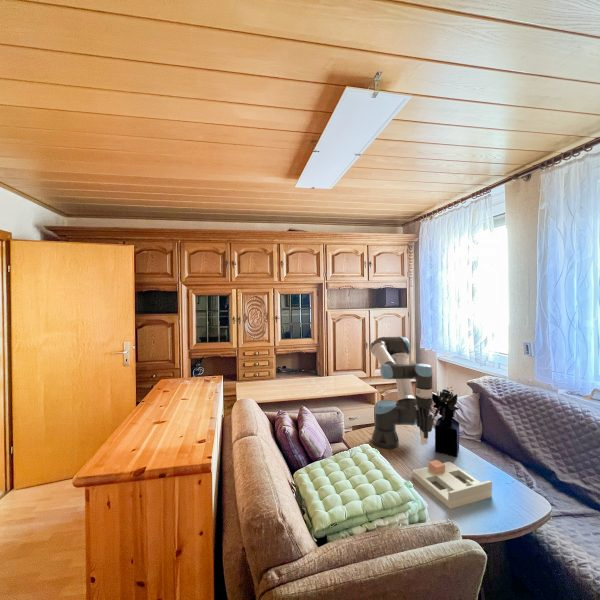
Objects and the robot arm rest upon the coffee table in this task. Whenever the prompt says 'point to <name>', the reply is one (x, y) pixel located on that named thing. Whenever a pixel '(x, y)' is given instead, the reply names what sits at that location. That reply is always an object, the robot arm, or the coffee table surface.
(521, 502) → the coffee table surface
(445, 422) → the vase
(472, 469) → the coffee table surface
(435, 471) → the block
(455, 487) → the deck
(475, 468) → the coffee table surface
